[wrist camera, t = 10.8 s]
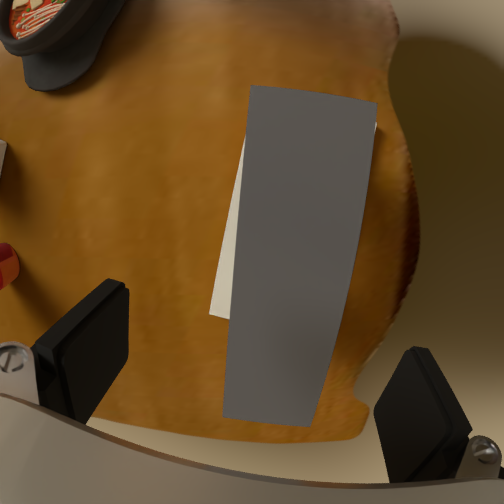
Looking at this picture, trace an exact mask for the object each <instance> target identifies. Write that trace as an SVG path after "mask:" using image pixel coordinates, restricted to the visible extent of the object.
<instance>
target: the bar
mask: <svg viewBox="0 0 504 504" xmlns="http://www.w3.org/2000/svg"><path fill="white" fill-rule="evenodd" d="M376 113H377V103H374V102H369V101H364V100H359V99H354V98H349V97H343V96H337V95H331V94H325V93H318V92H311V91H304V90H296V89H287V88H278V87H267V86H255V85H251V88H250V98H249V107H248V117H247V127H246V137H245V147H244V157H243V168H242V178H241V189H240V200H239V211H238V222H237V233H236V245H235V257H234V269H233V281H232V293H231V306H230V319H229V332H228V345H227V359H226V373H225V388H224V403H223V417H226V418H232V419H239V420H246V421H254V422H262V423H271V424H281V425H292V426H305V427H310V425H311V422H312V419H313V416H314V413H315V410H316V407H317V404H318V401H319V398H320V395H321V391H322V388H323V385H324V381H325V378H326V375H327V371H328V368H329V364H330V361H331V357H332V354H333V350H334V346H335V343H336V339H337V335H338V331H339V327H340V323H341V319H342V315H343V311H344V307H345V303H346V298H347V294H348V290H349V285H350V281H351V276H352V271H353V267H354V262H355V257H356V252H357V247H358V242H359V236H360V231H361V225H362V219H363V214H364V208H365V201H366V195H367V188H368V182H369V174H370V167H371V159H372V151H373V143H374V134H375V124H376Z"/></svg>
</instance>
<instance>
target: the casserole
mask: <svg viewBox="0 0 504 504" xmlns="http://www.w3.org/2000/svg"><path fill="white" fill-rule="evenodd" d="M124 2H125V0H0V40H1V41H2V43H3V45H4V47H5V49H6V50H7V51H8V52H9V53H11V54H13V55H15V56H21V57H22V60H23V68H24V76H25V82H26V83H27V85H28V86H29V88H31V89H33V90H35V91H42V92H47V91H54V90H57V89H60V88H62V87H65V86H67V85H69V84H71V83H72V82H74V81H76V80H77V79H79V78H80V77H81V76H82V75H83V74H85V73H86V72H87V71H88V69H89V68H90V67H91V65H92V64H93V63H94V61H95V59H96V56H97V54H98V51H99V49H100V46H101V44H102V41H103V39H104V36H105V34H106V32H107V31H108V29H109V27H110V26H111V24H112V22H113V21H114V19H115V18H116V16H117V15H118V13H119V11H120V10H121V8H122V7H123V5H124Z"/></svg>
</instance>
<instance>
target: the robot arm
mask: <svg viewBox="0 0 504 504" xmlns="http://www.w3.org/2000/svg"><path fill="white" fill-rule="evenodd" d="M128 332H129V289H128V288H125V284H124V283H123V282H120V281H116V280H113V279H109V278H108V279H106V280H105V281H104V282H102V283H101V284H100V285H99V286H98V287H96V288H95V289H94V290H93V291H92V292H91V293H89V294H88V295H87V296H86V297H85V298H84V299H82V300H81V301H80V302H79V303H78V304H77V305H76V306H74V307H73V308H72V309H71V310H70V311H69V312H68V313H66V314H65V315H64V316H63V317H62V318H61V319H60V320H59V321H57V322H56V323H55V324H54V325H53V326H52V327H51V328H50V329H49V330H48V331H46V332H45V333H44V334H43V335H42V336H41V337H40V338H39V339H38V340H37V341H36V342H35V344H34V345H33V346H32V347H31V348H29V347H28V346H26V345H24V344H22V343H19V342H5V343H2V344H0V504H504V468H503V467H501V460H502V454H501V451H500V449H499V447H498V445H497V444H496V443H495V442H494V441H493V440H491V439H490V438H488V437H485V436H480V435H478V436H474V437H472V438H471V439H470V440H469V438H468V435H469V433H470V432H471V431H472V427H471V425H470V423H469V421H468V419H467V417H466V415H465V413H464V411H463V409H462V408H461V406H460V404H459V402H458V400H457V398H456V397H455V394H454V393H453V391H452V389H451V388H450V385H449V384H448V382H447V380H446V378H445V376H444V375H443V373H442V371H441V370H440V368H439V366H438V364H437V363H436V361H435V359H434V357H433V356H432V354H431V352H430V351H429V349H428V348H422V347H415V346H413V347H412V348H410V349H409V350H407V351H405V353H404V354H403V356H402V359H401V360H400V362H399V364H398V366H397V368H396V370H395V372H394V374H393V375H392V377H391V379H390V381H389V382H388V384H387V386H386V388H385V390H384V391H383V393H382V395H381V397H380V398H379V400H378V401H377V403H376V405H375V407H374V418H375V422H376V426H377V430H378V434H379V438H380V442H381V446H382V451H383V455H384V459H385V463H386V468H387V472H388V477H389V482H390V483H374V484H373V483H371V484H365V483H364V484H362V483H361V484H359V483H331V482H316V481H304V480H294V479H285V478H277V477H270V476H263V475H257V474H251V473H245V472H240V471H234V470H229V469H225V468H220V467H215V466H211V465H206V464H202V463H198V462H194V461H190V460H186V459H183V458H179V457H175V456H172V455H168V454H165V453H161V452H158V451H155V450H152V449H149V448H146V447H143V446H140V445H137V444H134V443H131V442H128V441H126V440H123V439H120V438H118V437H115V436H112V435H109V434H107V433H104V432H102V431H99V430H97V429H94V428H91V427H89V426H87V425H86V423H87V421H88V420H89V418H90V417H91V415H92V414H93V412H94V410H95V409H96V407H97V406H98V404H99V403H100V401H101V400H102V398H103V397H104V395H105V393H106V392H107V390H108V389H109V387H110V386H111V384H112V383H113V381H114V380H115V378H116V377H117V375H118V374H119V372H120V371H121V369H122V368H123V366H124V365H125V363H126V361H127V359H128V353H129V349H128Z"/></svg>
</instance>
